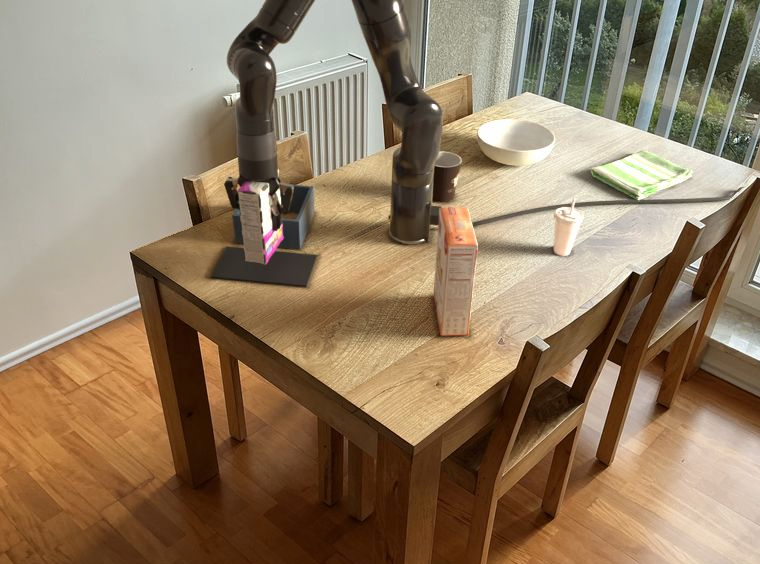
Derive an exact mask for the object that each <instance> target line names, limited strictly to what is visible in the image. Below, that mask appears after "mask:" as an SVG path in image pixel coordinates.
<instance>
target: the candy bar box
mask: <svg viewBox="0 0 760 564" xmlns="http://www.w3.org/2000/svg"><path fill="white" fill-rule="evenodd" d="M278 176H279V177H280V169H279V168H278ZM237 192H238V200H239V210H240V219H241V227H242V237H243V244H242V245H243V247H242V248H244V257H245V261H246V262H251V263H258V264H264V265H266V264H267V263H268V261H269V260H270V258H271V256H272V255H273V253H274V252H275V251H277V250H278V248H279V247H278V246H279V244H280V243H281V241H282V240H283V238H284V237H283V223H282V224H281V227H280V229H278V231H274V230H273V212H272V209H271V207H270V204H269V202H270V201H269V194H268V193H270V189H269V183H265V182H256V181H245V182H244V184H243V185H242V186H241V187H240V186H239V188H238V189H237ZM276 193H277V196H278V200H279V202H280V204H281V193H280V188H279V189H278V190H277V192H276ZM273 198H274V195H273V197H272V199H273ZM281 215H282V216H283V214H281Z"/></svg>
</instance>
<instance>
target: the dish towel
mask: <svg viewBox="0 0 760 564" xmlns="http://www.w3.org/2000/svg"><path fill="white" fill-rule="evenodd" d="M590 172H591V176H592V177H594V178H596V179H597V180H599V181H601V182H603V183H605V184H607V185H608V186H610V187H612V188H614V189H616V190H618V191H620V192H622V193H623V194H625V195H627V196H629V197H631V198H632V199H634V200H643V199H645V198H647V197H649V196H651V195H654V194H656V193H657V192H659V191H661V190H663V189H667V188H670V187H673V186H675V185H677V184H679V183H682V182H684V181H686V180H688V179H690V178H691V177H692V174H693V173H694V171H693V170H691V169H689V168H685V167H682V166H679V165H677V164H675V163H674V162H671V161H670V160H668V159H665V158H663V157H661V156H659V155H657V154H655V153H653V152H650V151H648V150H645V149H643V150H640V151H637V152H635V153H633V154H630V155H628V156H625V157H623V158H620V159H618V160H616V161H615V160H614V161H612V162H609V163H605V164H602V165H598V166H595V167H590Z"/></svg>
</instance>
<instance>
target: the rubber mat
mask: <svg viewBox="0 0 760 564" xmlns="http://www.w3.org/2000/svg"><path fill="white" fill-rule="evenodd" d="M317 258H318V254H310V253H309V254H308V253H299V252H298V253H297V252H289V251H288V252H287V251H280V250H279V251H277V250H275V252H274V253H273V255H272V256H271V258H270V260H269V261H268V263H267V264H266V265H264V264H258V263H251V262H246V261H245V257H244V247H235V246H226V247H225V249H224V251H223V252H222V254H221V256H220V259H219V260H218V262H217V264H216V266H215V267H214V270H213V272H212V274H211V275H210V279H219V280H229V281H240V282H248V283H261V284H269V285H280V286H290V287H299V288H300V287H301V288H307V287H308V284H309V281H310V278H311V275H312V272H313V270H314V266H315V264H316V261H317Z"/></svg>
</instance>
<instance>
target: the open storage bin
mask: <svg viewBox="0 0 760 564" xmlns="http://www.w3.org/2000/svg"><path fill="white" fill-rule="evenodd" d="M294 185H295V186H294V191H293V196H292V201H291V206H290V209H289V211H288V213H291V214H292V213H294V214H298V215H297V217H296V219H294V218H283V217H282V223H283V237H284V238H283V240H282V241H281V243H280V244H279V246H278V247H277V248H282V249H292V250H301V249H302V246H303V244H304V241H305V238H306V235H307V233H308V231H309V229H310V226H311V222H312V220H313V218H314V215H315V187H314V185H304V184H303V185H302V184H294ZM280 193H281V205H283V203H284V198H285V195H283V193H282V190H281V189H280ZM231 216H232V227H233V237H234V244H241V245H243V237H242V227H241V219H240V210H239V209H234V211H233V213H232V215H231Z"/></svg>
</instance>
